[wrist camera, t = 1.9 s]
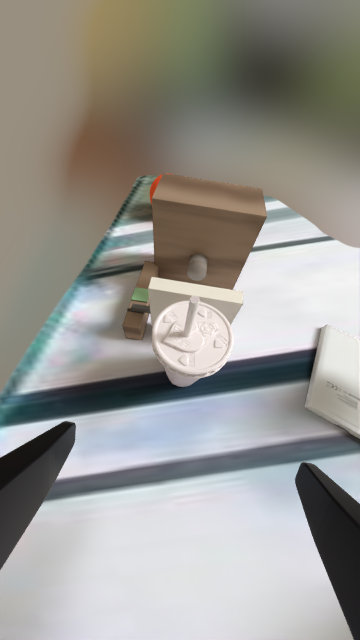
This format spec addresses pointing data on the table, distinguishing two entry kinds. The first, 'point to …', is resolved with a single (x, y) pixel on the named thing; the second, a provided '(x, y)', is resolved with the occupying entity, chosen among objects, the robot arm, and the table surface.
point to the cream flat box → (176, 291)
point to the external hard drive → (336, 380)
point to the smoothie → (191, 341)
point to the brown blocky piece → (197, 237)
